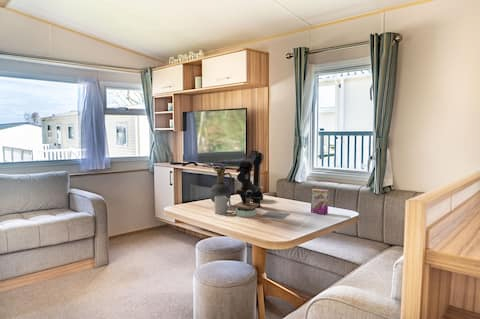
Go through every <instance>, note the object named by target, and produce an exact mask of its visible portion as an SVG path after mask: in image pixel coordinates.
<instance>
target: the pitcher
mask: <svg viewBox="0 0 480 319" xmlns="http://www.w3.org/2000/svg"><path fill="white" fill-rule="evenodd" d="M226 170H227V169H226V167H225V166H223V165H219V167H218V169H216V168H215V169H214V170H213V171H214V172H216V178H217V179H216V180H217V181H216V183H215V184H213V185H212V186H211V187H210V191H209V198H210V200H211V201H212V202H213V203H214V204H215V196H226V197H227V198H229V199H230V200H231V196H232V189H231V188H230V186H231V183H232V181H233V180H232V178H233V177H232V174H231V172H229V171H228V172H226ZM227 175H229V183H228V184H226V183H225V176H227ZM227 203H229V201H227Z"/></svg>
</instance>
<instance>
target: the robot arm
mask: <svg viewBox="0 0 480 319" xmlns="http://www.w3.org/2000/svg"><path fill="white" fill-rule="evenodd" d="M264 158H265V157H264V154H263V153H262V152H259V151H258V150H250V153H249V154H248V156H247V157H246V158H245V159H243V160H241V162H240V163H239V168H238V172H239V173H238V174H237V176H236V179H237V181H238V182H240V184H241V187H240V188H239V189H237V190H236V191H235V194H236V195H239V197H240V198H241V202H242V201H243V203H244V204H245V203H246V198H250V199H253V201H252V203H258V204H260V205H259V206H257V207H255V209H260V208H262V207H263V206H262V205H261V201H264V195H263V194H264V193H263V192H261V187H260V186H261V185H260V180H261V178H260V177H261V165H262V164H263V162H264V160H265V159H264ZM252 170H253V175H252V174H251V173H252ZM251 176H253V180H251Z"/></svg>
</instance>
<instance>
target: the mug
mask: <svg viewBox="0 0 480 319" xmlns="http://www.w3.org/2000/svg"><path fill="white" fill-rule="evenodd" d="M227 201H228V202H227ZM231 205H232V204H231V198H230V199H229V198H227V197H226V196H215V203H214V214H216V215H226V214H228V209H229V208H230V207H231Z"/></svg>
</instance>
